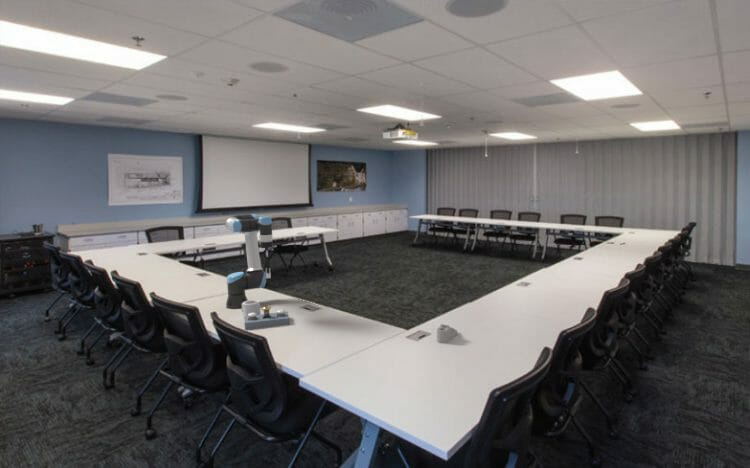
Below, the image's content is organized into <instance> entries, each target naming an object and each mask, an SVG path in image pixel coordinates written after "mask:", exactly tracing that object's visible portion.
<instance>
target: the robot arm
mask: <svg viewBox="0 0 750 468" xmlns="http://www.w3.org/2000/svg"><path fill="white" fill-rule="evenodd" d="M272 223H273V222H272V217H271V216H267V215H265V216H258V214H255V213H247V214H235V215H230V216H229V217H228V218H226V219H225V222H224V226H225V228H226V229H227V230H228V231H232V233H242V235H243V236H244V242H245V251H246V259H247V260H246V261H247V269H246V271H245V272H246V273H244V271H238V272H232V273H230V274H228V275H227V277H226V285H227V287H226V288H227V299H226V303H225V307H226V309H242V303H243V302H245V301H248V300H249V299H248V298H247V295H246V291H249V290H250V291H251V290H257V289H261V288H265V286H266V282H267V279H272V278H271V276H272V275H271V274H272V273H271V268H272V265H271V262H270V258H271V249H270V248H273V247H274V243H273V241H274V239H273V225H272ZM258 233H259V237H258ZM258 238H260V239H259V240H260V248H261V249H264V250H263V254H264V259H265V267H264V269H265V271H264V269H263V268H262V266H261V260H260V250H259V240H258Z"/></svg>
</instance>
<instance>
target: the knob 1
mask: <svg viewBox="0 0 750 468" xmlns="http://www.w3.org/2000/svg"><path fill="white" fill-rule="evenodd" d="M256 316H257V313H249V314H248V317H249V320H256Z"/></svg>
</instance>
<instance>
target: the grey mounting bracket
mask: <svg viewBox="0 0 750 468" xmlns="http://www.w3.org/2000/svg"><path fill="white" fill-rule="evenodd" d="M457 335H458V330H457V329H455V328H454V327H450V325H449V324H443V323H441V324H440V325H439V326H438V327H437V329H436V342H437V343H438V344H447V343H449V342H450V341H451V340H452V339H453V338H455V337H456V336H457Z"/></svg>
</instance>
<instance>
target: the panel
mask: <svg viewBox="0 0 750 468" xmlns="http://www.w3.org/2000/svg"><path fill="white" fill-rule="evenodd" d="M269 315H270V317H269V318H264V313H262V314H260V315H257V316H256V320H249V317H248V316H245V318H244V330H245V331H246V330H254V329H264V328H270V327H280V326H287V325H290V324H291V322H290V321H291V320H290V316H289V312H288V311H285V313H284V316H283V317H278V314H277V312H271V313H270V312H269Z"/></svg>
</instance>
